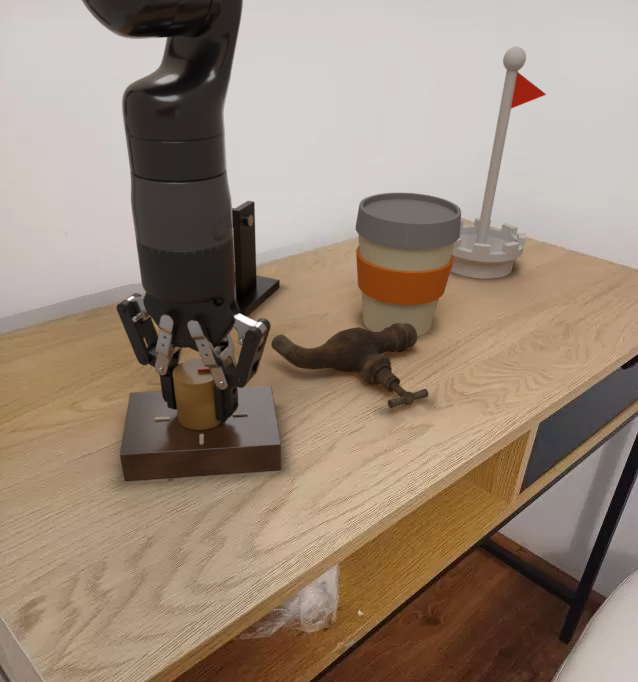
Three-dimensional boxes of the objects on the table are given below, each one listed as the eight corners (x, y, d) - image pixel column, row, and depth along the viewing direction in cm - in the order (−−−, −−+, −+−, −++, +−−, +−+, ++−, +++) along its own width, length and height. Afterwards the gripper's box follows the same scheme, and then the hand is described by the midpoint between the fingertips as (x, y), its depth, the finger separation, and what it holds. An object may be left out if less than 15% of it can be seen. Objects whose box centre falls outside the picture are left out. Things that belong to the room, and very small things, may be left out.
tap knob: (177, 432, 58) (171, 382, 55) (178, 405, 62) (172, 357, 59) (226, 428, 59) (223, 379, 56) (224, 402, 63) (221, 354, 59)
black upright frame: (245, 318, 84) (241, 221, 77) (185, 305, 87) (175, 210, 79) (279, 287, 92) (279, 196, 85) (224, 276, 95) (219, 187, 88)
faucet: (383, 332, 82) (463, 399, 73) (269, 361, 73) (344, 441, 64) (391, 299, 79) (476, 365, 70) (273, 325, 70) (352, 404, 61)
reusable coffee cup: (411, 296, 91) (425, 188, 83) (464, 334, 82) (485, 217, 74) (333, 310, 87) (338, 197, 78) (379, 352, 78) (391, 230, 69)
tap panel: (124, 481, 57) (119, 453, 55) (134, 417, 65) (129, 390, 63) (281, 470, 59) (281, 443, 57) (271, 409, 67) (271, 383, 65)
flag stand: (420, 267, 100) (450, 45, 83) (456, 244, 109) (489, 39, 92) (499, 288, 95) (549, 54, 77) (530, 262, 103) (581, 47, 86)
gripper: (287, 229, 51) (286, 406, 61) (133, 204, 55) (156, 375, 65) (246, 261, 45) (253, 451, 55) (77, 231, 49) (111, 414, 59)
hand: (200, 409), depth 60 cm, fingers closed on tap knob, 4 cm apart
